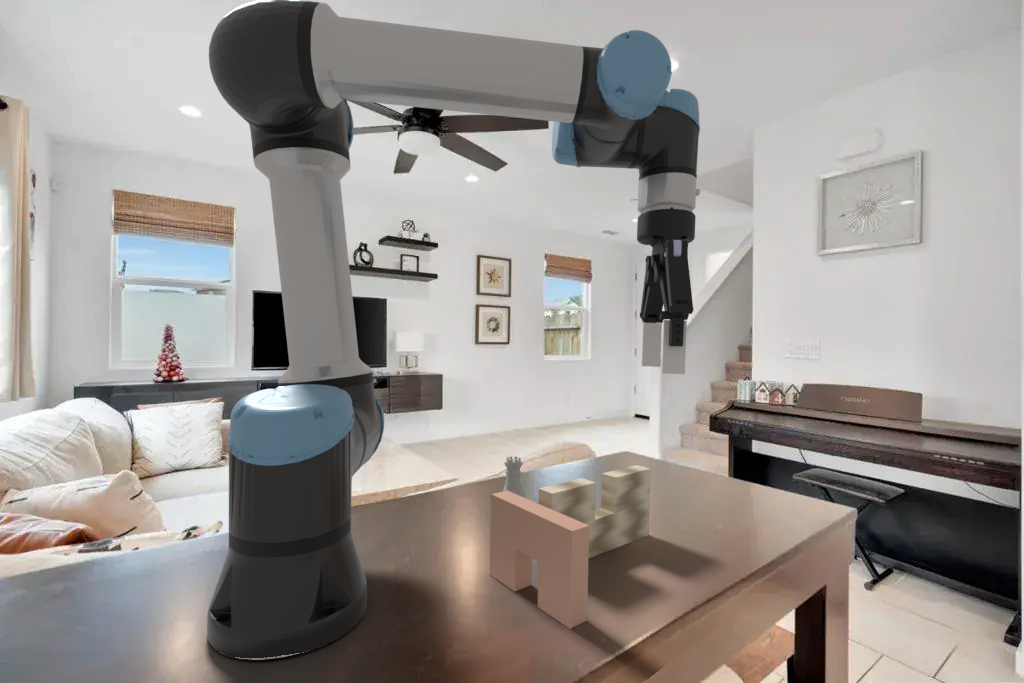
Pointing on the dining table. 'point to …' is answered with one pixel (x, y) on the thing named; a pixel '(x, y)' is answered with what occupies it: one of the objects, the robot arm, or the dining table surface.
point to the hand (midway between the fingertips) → (660, 369)
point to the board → (605, 506)
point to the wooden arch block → (541, 554)
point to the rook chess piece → (513, 476)
